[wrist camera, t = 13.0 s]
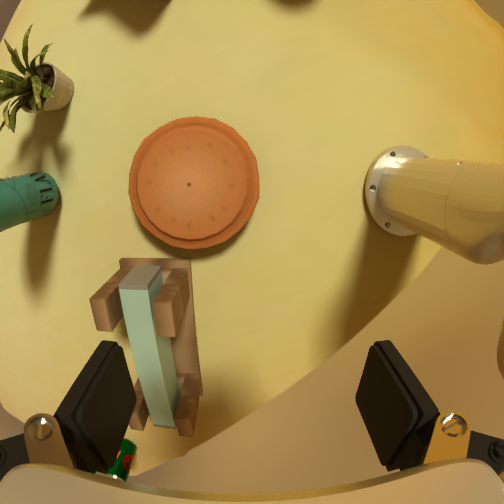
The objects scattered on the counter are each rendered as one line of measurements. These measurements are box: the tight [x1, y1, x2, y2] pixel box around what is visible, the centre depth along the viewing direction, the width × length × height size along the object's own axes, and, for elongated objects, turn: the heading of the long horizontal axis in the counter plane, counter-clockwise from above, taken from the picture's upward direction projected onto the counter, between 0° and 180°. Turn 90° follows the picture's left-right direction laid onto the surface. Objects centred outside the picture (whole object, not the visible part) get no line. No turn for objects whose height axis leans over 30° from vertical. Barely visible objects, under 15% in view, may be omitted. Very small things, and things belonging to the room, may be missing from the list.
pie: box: [129, 116, 259, 249], centre depth 33 cm, size 15×16×5 cm
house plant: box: [0, 24, 74, 132], centre depth 23 cm, size 14×14×16 cm
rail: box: [118, 265, 180, 429], centre depth 36 cm, size 4×24×6 cm, turn 179°
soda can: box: [104, 439, 136, 482], centre depth 45 cm, size 5×5×12 cm
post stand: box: [89, 258, 203, 437], centre depth 36 cm, size 10×24×11 cm, turn 179°
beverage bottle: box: [0, 172, 58, 232], centre depth 25 cm, size 6×7×20 cm
